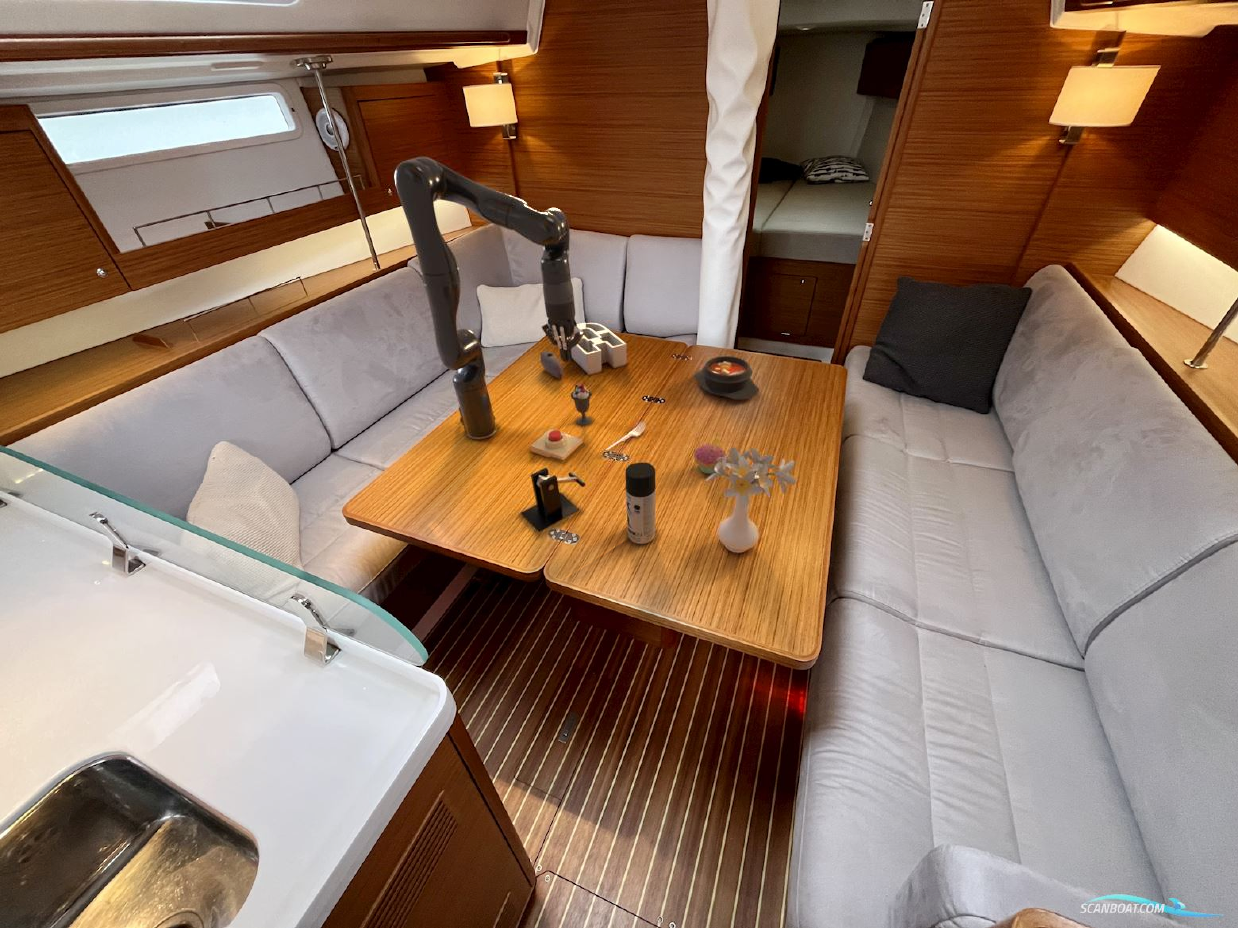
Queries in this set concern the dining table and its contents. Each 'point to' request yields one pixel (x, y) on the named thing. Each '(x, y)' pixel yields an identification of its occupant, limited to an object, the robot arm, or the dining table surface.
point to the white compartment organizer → (598, 348)
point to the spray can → (640, 502)
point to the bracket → (548, 503)
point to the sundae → (582, 403)
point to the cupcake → (708, 456)
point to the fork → (631, 434)
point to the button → (555, 436)
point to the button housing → (555, 445)
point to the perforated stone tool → (551, 364)
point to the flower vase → (746, 494)
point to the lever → (562, 479)
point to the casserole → (727, 378)
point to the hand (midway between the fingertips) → (566, 360)
